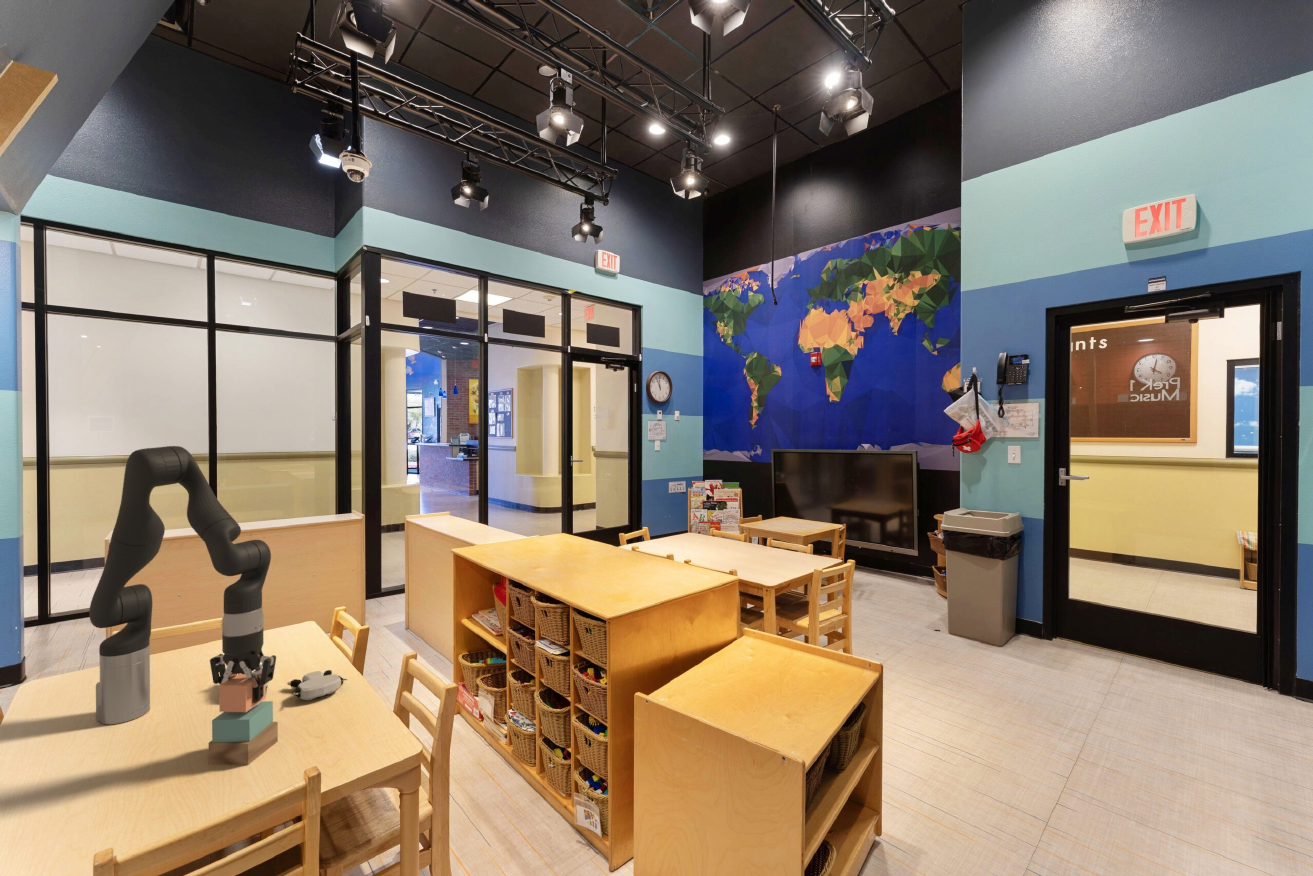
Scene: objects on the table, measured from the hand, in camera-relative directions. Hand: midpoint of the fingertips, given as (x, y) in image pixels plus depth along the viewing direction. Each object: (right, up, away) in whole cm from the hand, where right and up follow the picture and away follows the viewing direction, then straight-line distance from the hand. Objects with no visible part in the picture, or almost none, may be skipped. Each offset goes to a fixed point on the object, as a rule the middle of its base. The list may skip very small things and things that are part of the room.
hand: (243, 700), depth 124 cm
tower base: (0, -12, 0) cm, 12 cm away
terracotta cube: (0, -1, 0) cm, 1 cm away
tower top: (0, -7, 0) cm, 7 cm away
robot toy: (-1, -12, +29) cm, 31 cm away
